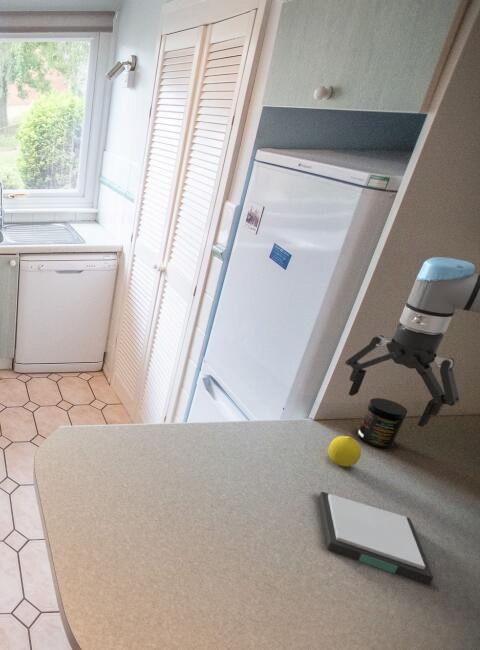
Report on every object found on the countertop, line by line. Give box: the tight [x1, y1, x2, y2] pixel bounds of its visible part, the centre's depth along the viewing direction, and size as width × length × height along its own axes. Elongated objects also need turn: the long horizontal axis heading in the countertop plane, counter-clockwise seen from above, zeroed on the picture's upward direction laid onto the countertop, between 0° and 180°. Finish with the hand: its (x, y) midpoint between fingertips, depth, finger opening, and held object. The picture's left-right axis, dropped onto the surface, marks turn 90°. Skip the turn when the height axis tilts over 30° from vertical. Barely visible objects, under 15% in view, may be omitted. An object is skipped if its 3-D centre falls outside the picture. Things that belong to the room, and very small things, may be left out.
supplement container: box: [357, 397, 408, 450], centre depth 109 cm, size 7×7×10 cm
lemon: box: [327, 435, 362, 467], centre depth 102 cm, size 6×6×8 cm
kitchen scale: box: [317, 491, 434, 586], centre depth 85 cm, size 14×14×3 cm
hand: (385, 408), depth 107 cm, fingers open, 13 cm apart
